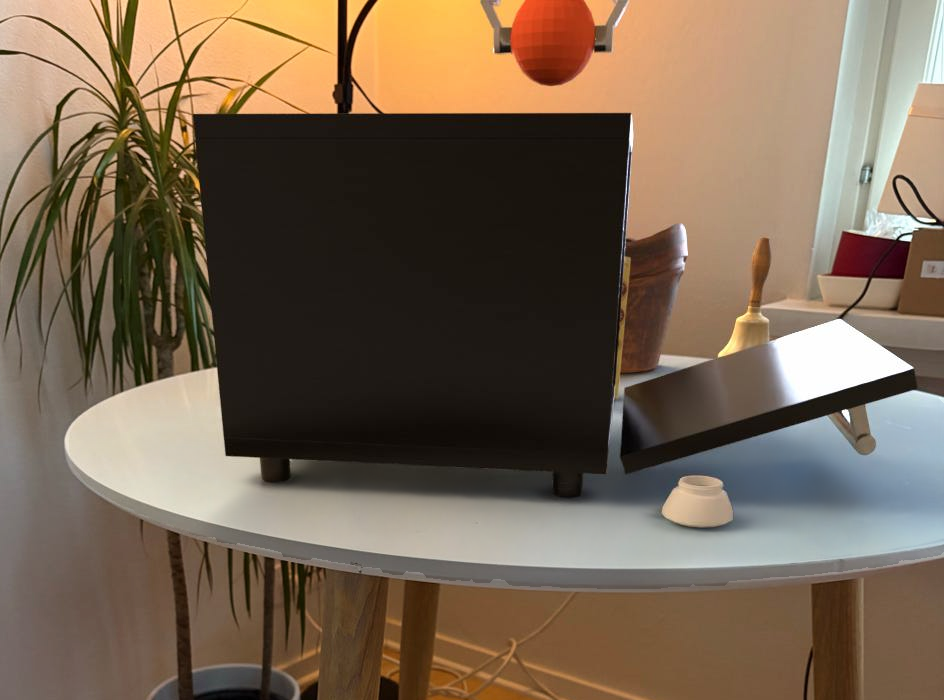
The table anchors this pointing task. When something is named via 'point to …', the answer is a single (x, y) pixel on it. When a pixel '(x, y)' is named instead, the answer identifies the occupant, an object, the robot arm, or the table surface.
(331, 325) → the oven
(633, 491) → the table surface
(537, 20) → the clementine
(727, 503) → the white jar
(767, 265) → the hand bell
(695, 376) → the oven door
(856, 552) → the table surface
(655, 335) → the terracotta flower pot
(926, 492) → the table surface
